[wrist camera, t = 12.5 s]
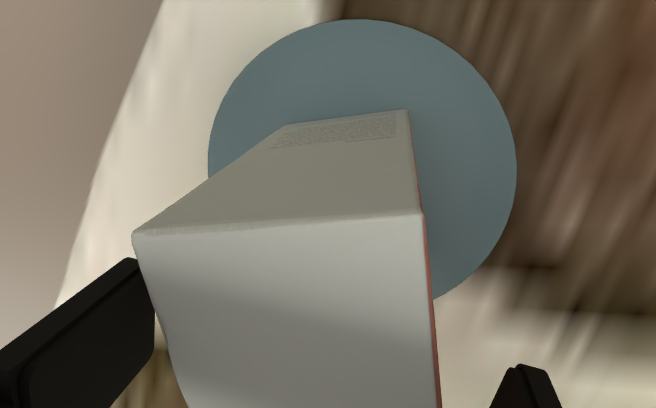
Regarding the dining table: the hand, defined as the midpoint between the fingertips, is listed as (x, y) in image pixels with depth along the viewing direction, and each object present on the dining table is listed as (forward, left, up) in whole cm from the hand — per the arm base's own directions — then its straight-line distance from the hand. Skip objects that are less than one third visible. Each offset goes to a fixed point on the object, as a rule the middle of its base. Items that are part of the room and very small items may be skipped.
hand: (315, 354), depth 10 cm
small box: (0, 0, -12) cm, 12 cm away
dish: (0, 0, -13) cm, 13 cm away
